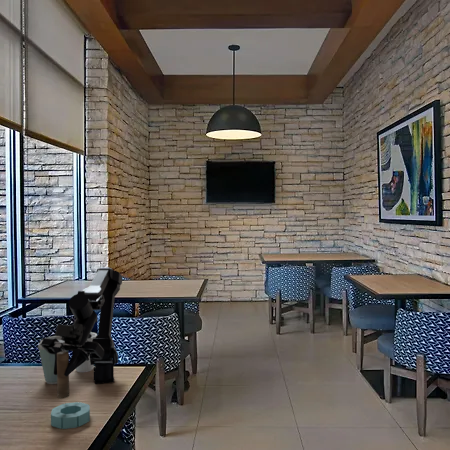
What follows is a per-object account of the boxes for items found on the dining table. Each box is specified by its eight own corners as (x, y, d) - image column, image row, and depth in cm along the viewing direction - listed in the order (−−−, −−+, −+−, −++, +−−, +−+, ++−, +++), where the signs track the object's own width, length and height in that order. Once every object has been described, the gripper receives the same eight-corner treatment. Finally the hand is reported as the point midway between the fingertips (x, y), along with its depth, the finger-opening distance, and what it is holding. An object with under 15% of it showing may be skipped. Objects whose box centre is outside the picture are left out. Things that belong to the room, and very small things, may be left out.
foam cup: (66, 371, 175) (65, 337, 175) (81, 364, 184) (81, 331, 184) (87, 374, 172) (87, 339, 172) (102, 366, 181) (102, 333, 180)
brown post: (69, 393, 137) (69, 351, 136) (68, 397, 134) (68, 354, 133) (58, 394, 136) (57, 351, 136) (56, 399, 133) (56, 355, 132)
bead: (89, 410, 141) (89, 400, 141) (89, 425, 131) (89, 415, 131) (53, 414, 139) (53, 404, 139) (49, 430, 129) (49, 419, 129)
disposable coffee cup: (64, 386, 160) (63, 343, 160) (33, 386, 161) (32, 343, 160) (74, 376, 171) (74, 335, 171) (45, 375, 171) (44, 335, 171)
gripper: (44, 310, 141) (18, 358, 131) (98, 314, 135) (75, 364, 125) (61, 330, 148) (37, 376, 138) (113, 334, 143) (93, 383, 133)
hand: (60, 375), depth 133 cm, fingers closed on brown post, 3 cm apart
